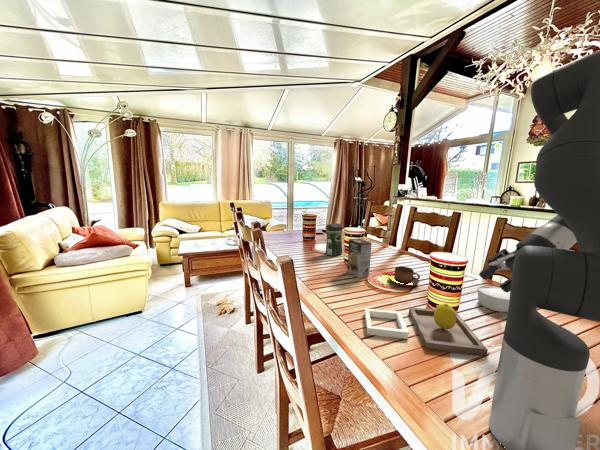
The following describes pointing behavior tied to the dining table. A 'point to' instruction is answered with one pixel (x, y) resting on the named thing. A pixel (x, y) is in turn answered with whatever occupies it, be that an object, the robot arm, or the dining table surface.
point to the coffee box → (359, 257)
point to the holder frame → (382, 330)
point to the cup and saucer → (405, 276)
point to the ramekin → (493, 298)
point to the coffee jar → (334, 239)
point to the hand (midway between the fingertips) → (491, 282)
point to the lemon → (445, 316)
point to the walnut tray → (446, 334)
